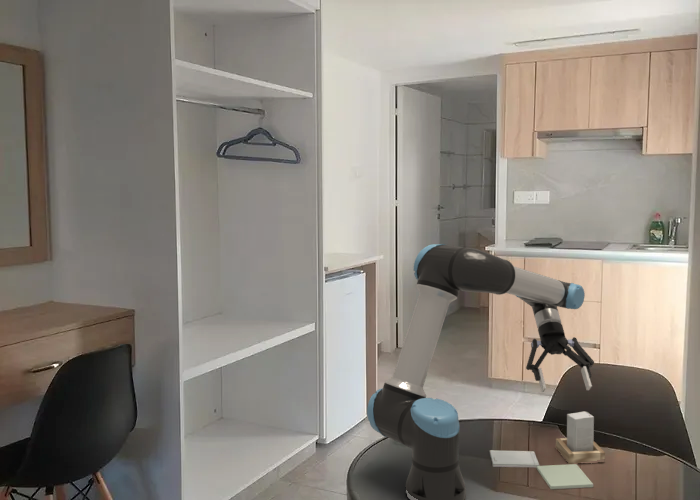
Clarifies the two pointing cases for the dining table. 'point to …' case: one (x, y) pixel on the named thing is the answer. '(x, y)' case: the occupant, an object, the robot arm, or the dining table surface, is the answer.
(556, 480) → the pad
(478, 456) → the dining table surface
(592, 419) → the skincare box
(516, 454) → the hard drive
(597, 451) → the cradle
